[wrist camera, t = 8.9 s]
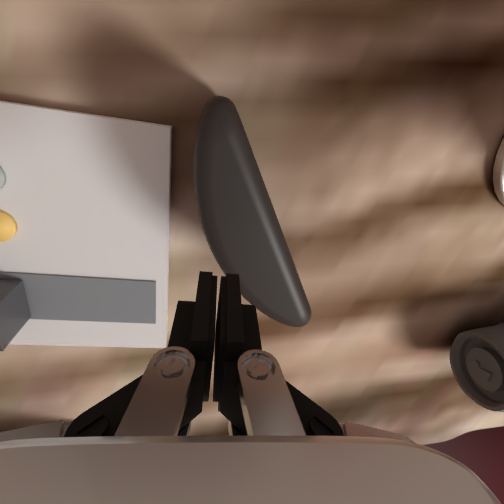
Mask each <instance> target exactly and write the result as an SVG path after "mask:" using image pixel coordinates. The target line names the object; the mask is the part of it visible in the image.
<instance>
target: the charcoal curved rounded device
mask: <svg viewBox="0 0 504 504" xmlns="http://www.w3.org/2000/svg"><path fill="white" fill-rule="evenodd" d="M194 187H195V196H196V202H197V208H198V213H199V217H200V221H201V224H202V228H203V231H204V234H205V236H206V239H207V242H208V244H209V246H210V249H211V251H212V253H213V255H214V257H215V259H216V261H217V263H218V264H219V266H220V268H221V269H222V271H223V272H224V274H225V275H226V273H230V274H239V280H240V292H241V295H242V296H243V297H244V298H245V299H246V300H247V301H248V302H250V303H251V304H252V305H255V307H256V308H257V309H258V310H259V311H261V312H262V313H264V314H265V315H267V316H269V317H270V318H272V319H274V320H276V321H278V322H280V323H282V324H284V325H287V326H292V327H301V326H304V325H306V324H307V323H308V322H309V321H310V319H311V309H310V306H309V303H308V300H307V297H306V295H305V292H304V289H303V287H302V284H301V281H300V279H299V276H298V273H297V270H296V268H295V265H294V262H293V260H292V257H291V254H290V252H289V249H288V246H287V243H286V241H285V238H284V235H283V233H282V230H281V227H280V225H279V222H278V219H277V216H276V214H275V211H274V208H273V206H272V203H271V200H270V198H269V195H268V192H267V189H266V187H265V184H264V181H263V179H262V176H261V173H260V171H259V168H258V165H257V162H256V160H255V157H254V154H253V152H252V149H251V146H250V144H249V141H248V138H247V135H246V133H245V130H244V127H243V125H242V122H241V120H240V117H239V114H238V112H237V110H236V107H235V105H234V104H233V102H232V101H231V100H230V99H228V98H226V97H223V96H214V97H212V98H211V99H210V100H209V101H208V102H207V104H206V106H205V108H204V110H203V113H202V116H201V119H200V123H199V127H198V131H197V136H196V142H195V151H194Z"/></svg>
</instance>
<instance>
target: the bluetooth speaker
mask: <svg viewBox="0 0 504 504" xmlns="http://www.w3.org/2000/svg"><path fill="white" fill-rule="evenodd" d="M450 363H451V368H452V371H453V374H454V376H455V378H456V380H457V382H458V384H459V386H460V387H461V389H462V390H463V391H464V392H465V394H466V395H468V396H469V397H470V398H471V399H472V400H473V401H475V402H476V403H477V404H479V405H480V406H482V407H484V408H486V409H489V410H492V411H500V412H504V322H501V323H498V324H496V325H494V326H489V327H483V328H478V329H473V330H469V331H465V332H461V333H460V334H458V335H457V336H456V338H455V340H454V342H453V344H452V347H451V350H450Z"/></svg>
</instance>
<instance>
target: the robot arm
mask: <svg viewBox="0 0 504 504" xmlns="http://www.w3.org/2000/svg"><path fill="white" fill-rule="evenodd" d="M493 185H494V190H495V193H496V195H497V197H498V199H499V201H500V202H501V203H502V204H503V205H504V138H503V140H502V142H501V144H500V147H499V150H498V152H497V155H496V159H495V163H494V168H493ZM216 295H217V276H212V272H202V271H200V274H199V281H198V288H197V295H196V302H193V301H178V304H177V308H176V313H175V317H174V322H173V326H172V330H171V335H170V339H169V344H168V347H167V348H164V349H162V350H159V351H158V352H157V353H155V354H154V355H153V357H152V358H151V360H150V362H149V364H148V366H147V368H146V370H145V372H144V374H143V375H142V376H140V377H139V378H137V379H135V380H134V381H132V382H131V383H129V384H128V385H126V386H124V387H123V388H121V389H120V390H118V391H117V392H115V393H113V394H112V395H110V396H109V397H107V398H106V399H104V400H102V401H101V402H99V403H98V404H96V405H95V406H93V407H91V408H90V409H88V410H87V411H85V412H83V413H82V414H81V415H79V416H78V417H77V418H76V419H74V420H73V422H68V423H63V420H59V421H54V422H49V423H44V424H39V425H34V426H29V427H24V428H19V429H14V430H8V431H3V432H0V504H501V503H500V502H499V500H498V499H497V498H496V497H495V495H494V494H493V493H492V492H491V491H490V489H489V488H488V487H487V486H486V485H485V484H484V483H483V481H482V480H481V479H480V478H479V477H478V476H477V475H476V474H475V473H474V472H472V471H471V470H470V469H469V468H468V467H466V466H465V465H463V464H462V463H461V462H459V461H457V460H455V459H454V458H452V457H450V456H448V455H446V454H443V453H441V452H439V451H437V450H434V449H431V448H429V447H426V446H423V445H420V444H416V443H415V442H413V441H412V440H411V439H409V438H408V437H406V436H404V435H401V434H398V433H394V432H390V431H385V430H381V429H377V428H373V427H369V426H364V425H360V424H356V423H352V422H348V421H345V422H344V424H341V423H338V422H337V420H336V419H335V418H334V417H332V416H331V415H330V414H329V413H328V412H326V411H325V410H324V409H322V408H321V407H320V406H318V405H317V404H316V403H314V402H313V401H312V400H311V399H309V398H308V397H307V396H305V395H304V394H303V393H301V392H300V391H299V390H297V389H296V388H295V387H293V386H292V385H291V384H290V383H288V382H287V381H286V380H285V379H284V376H283V373H282V371H281V368H280V365H279V363H278V361H277V360H276V358H275V357H274V356H273V355H272V354H270V353H268V352H266V351H263V350H262V347H261V340H260V333H259V326H258V320H257V313H256V307H255V305H244V304H241V292H240V280H239V274H230V273H226V277H225V276H221V282H220V292H219V301H218V311H217V320H216ZM215 320H216V333H215ZM214 341H215V359H214V385H213V401H215V402H218V411H220V412H221V413H222V414H223V415H224V416H225V417H226V418H227V419H228V429H229V435H230V436H188V435H189V431H190V426H191V421H192V420H193V419H194V418H195V417H196V416H197V415H198V414H200V413H201V412H202V403H203V401H208V399H209V390H210V381H211V371H212V362H213V352H214Z"/></svg>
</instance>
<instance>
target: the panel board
mask: <svg viewBox="0 0 504 504" xmlns="http://www.w3.org/2000/svg"><path fill="white" fill-rule="evenodd" d="M171 157H172V126H170V125H163V124H156V123H150V122H143V121H136V120H129V119H123V118H116V117H109V116H102V115H96V114H89V113H82V112H75V111H69V110H62V109H55V108H49V107H42V106H35V105H28V104H22V103H15V102H8V101H1V100H0V279H10V280H23V284H24V288H25V292H26V297H27V301H28V305H29V309H30V313H31V317H30V319H29V320H28V321H27V322H26V323H25V325H24V326H23V327H22V328H21V330H20V331H19V332H18V333H17V334H16V336H15V337H14V338H13V339H12V340H11V342H10V343H9V344H18V345H59V346H99V347H139V348H166V343H167V317H168V277H169V237H170V197H171Z"/></svg>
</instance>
